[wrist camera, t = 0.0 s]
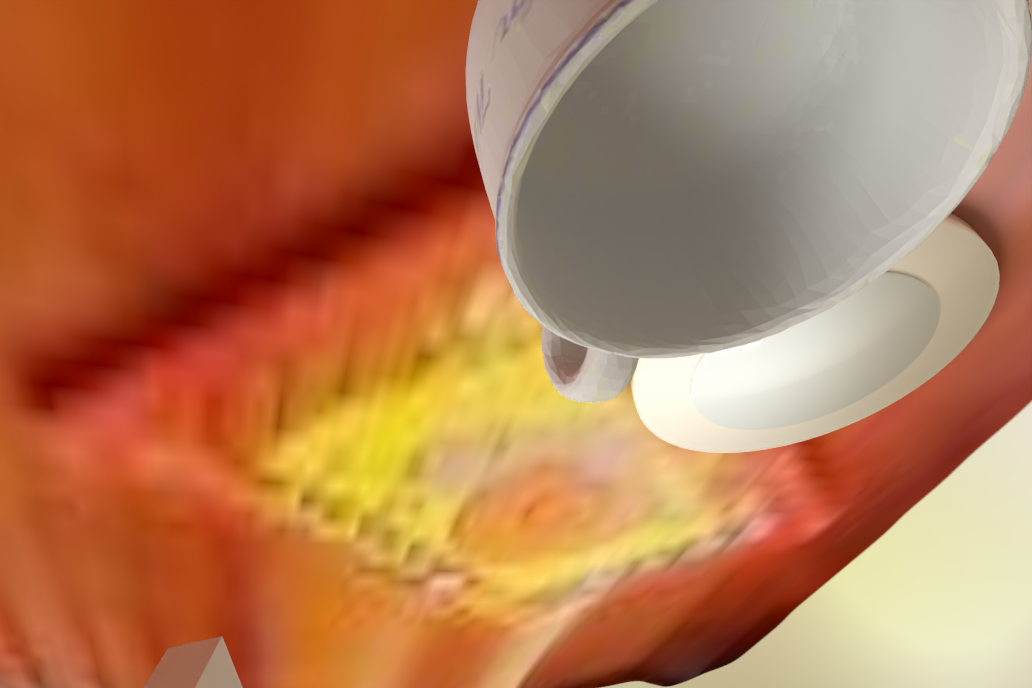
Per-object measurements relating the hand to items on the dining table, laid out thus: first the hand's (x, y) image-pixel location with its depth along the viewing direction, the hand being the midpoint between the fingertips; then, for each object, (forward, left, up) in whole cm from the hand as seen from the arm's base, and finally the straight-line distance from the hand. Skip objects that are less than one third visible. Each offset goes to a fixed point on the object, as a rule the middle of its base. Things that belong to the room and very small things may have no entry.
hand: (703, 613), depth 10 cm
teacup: (+1, +3, -16) cm, 16 cm away
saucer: (+17, +11, -15) cm, 25 cm away
